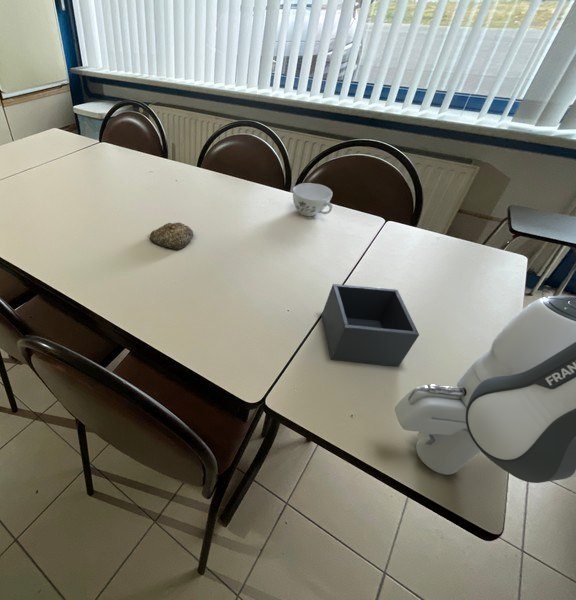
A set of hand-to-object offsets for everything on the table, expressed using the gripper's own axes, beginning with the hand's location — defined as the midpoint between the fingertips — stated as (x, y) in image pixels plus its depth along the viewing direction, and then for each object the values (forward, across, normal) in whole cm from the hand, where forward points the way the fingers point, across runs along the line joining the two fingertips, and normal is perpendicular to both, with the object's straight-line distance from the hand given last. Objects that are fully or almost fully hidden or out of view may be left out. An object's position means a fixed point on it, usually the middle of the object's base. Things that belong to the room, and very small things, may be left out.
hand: (449, 443), depth 59 cm
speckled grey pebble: (+5, -54, +62) cm, 82 cm away
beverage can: (+5, 0, 0) cm, 5 cm away
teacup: (+5, -10, +84) cm, 85 cm away
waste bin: (+5, -7, +26) cm, 27 cm away
